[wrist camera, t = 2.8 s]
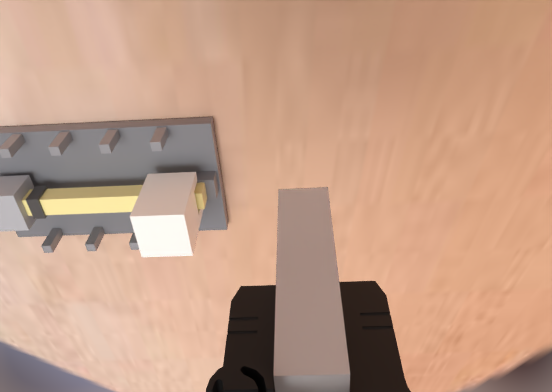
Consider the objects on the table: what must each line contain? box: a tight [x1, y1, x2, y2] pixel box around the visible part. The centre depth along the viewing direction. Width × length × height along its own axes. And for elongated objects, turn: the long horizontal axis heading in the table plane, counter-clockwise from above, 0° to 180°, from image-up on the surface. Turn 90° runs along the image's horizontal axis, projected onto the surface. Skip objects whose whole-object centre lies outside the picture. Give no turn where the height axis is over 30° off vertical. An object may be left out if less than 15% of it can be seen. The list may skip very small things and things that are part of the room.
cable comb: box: [0, 117, 228, 253], centre depth 42 cm, size 20×11×5 cm, turn 93°
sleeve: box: [130, 172, 203, 257], centre depth 39 cm, size 4×4×6 cm
